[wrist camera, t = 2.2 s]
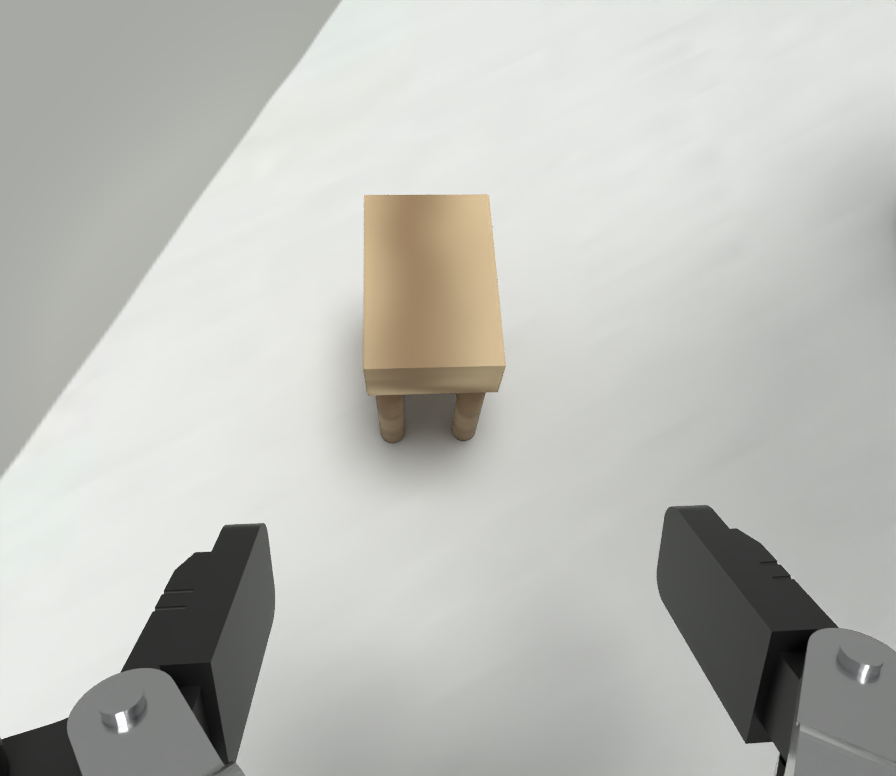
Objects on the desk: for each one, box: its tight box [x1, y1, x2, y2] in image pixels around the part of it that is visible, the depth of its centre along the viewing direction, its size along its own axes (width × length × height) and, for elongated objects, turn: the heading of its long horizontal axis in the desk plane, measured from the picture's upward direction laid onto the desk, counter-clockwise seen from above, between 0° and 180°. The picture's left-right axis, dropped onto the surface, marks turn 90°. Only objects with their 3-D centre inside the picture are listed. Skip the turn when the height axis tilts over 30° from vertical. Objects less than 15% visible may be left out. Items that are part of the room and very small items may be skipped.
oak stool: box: [363, 195, 506, 443], centre depth 29 cm, size 5×8×9 cm, turn 3°
